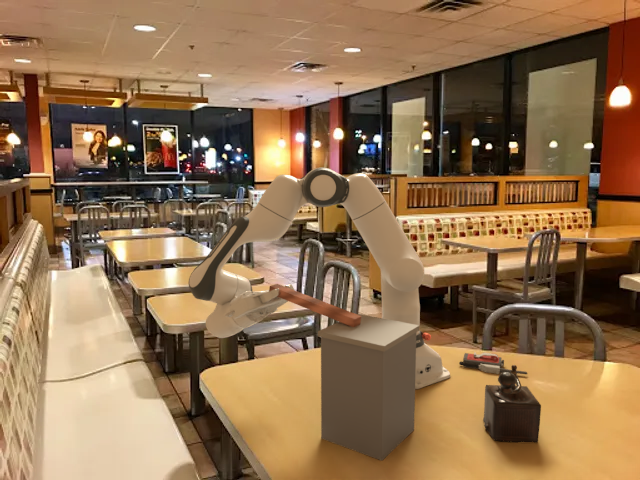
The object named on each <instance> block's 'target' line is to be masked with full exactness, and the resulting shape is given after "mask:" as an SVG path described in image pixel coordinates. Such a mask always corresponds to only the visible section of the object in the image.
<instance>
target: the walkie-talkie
mask: <svg viewBox="0 0 640 480" xmlns="http://www.w3.org/2000/svg"><path fill="white" fill-rule="evenodd" d="M459 365H460V366H462V367H463V368H468V369H477V370H479V371H482V372H485V373H487V374H488V373H490V374H496V375H500V373H503V372H511V370H512V369H507V368H503V367H504V366H505V360H504V359H502V357H501V356H499V355H498V354H497V353H491V352H482V353H480V354H477V352H476V351H474V353H467V352H464V353H463V360H462V361H459ZM516 371H517V372H516V373H517V375H518V374H521V375H528V372H527V371H525V370H524V371H522V370H516Z"/></svg>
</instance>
